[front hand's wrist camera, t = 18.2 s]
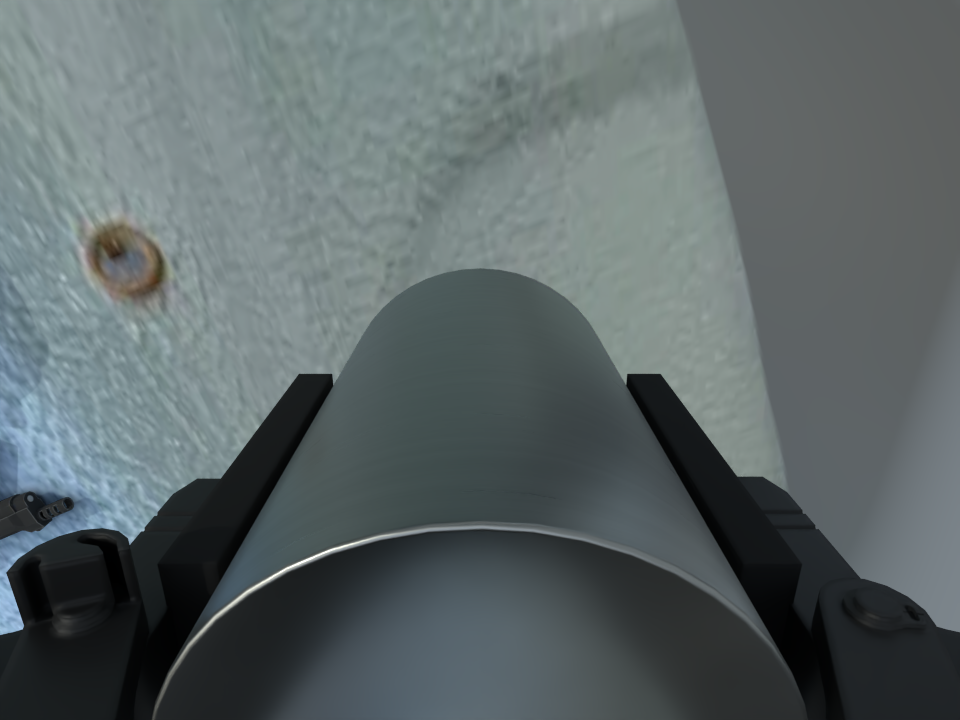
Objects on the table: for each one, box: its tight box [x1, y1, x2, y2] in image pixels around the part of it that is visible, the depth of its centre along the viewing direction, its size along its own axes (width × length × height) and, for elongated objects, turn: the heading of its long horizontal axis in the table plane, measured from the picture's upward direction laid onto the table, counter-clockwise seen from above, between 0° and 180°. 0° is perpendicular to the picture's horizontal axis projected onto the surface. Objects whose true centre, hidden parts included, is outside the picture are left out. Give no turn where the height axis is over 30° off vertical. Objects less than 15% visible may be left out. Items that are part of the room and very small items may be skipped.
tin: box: [152, 269, 808, 720], centre depth 11 cm, size 7×7×10 cm
